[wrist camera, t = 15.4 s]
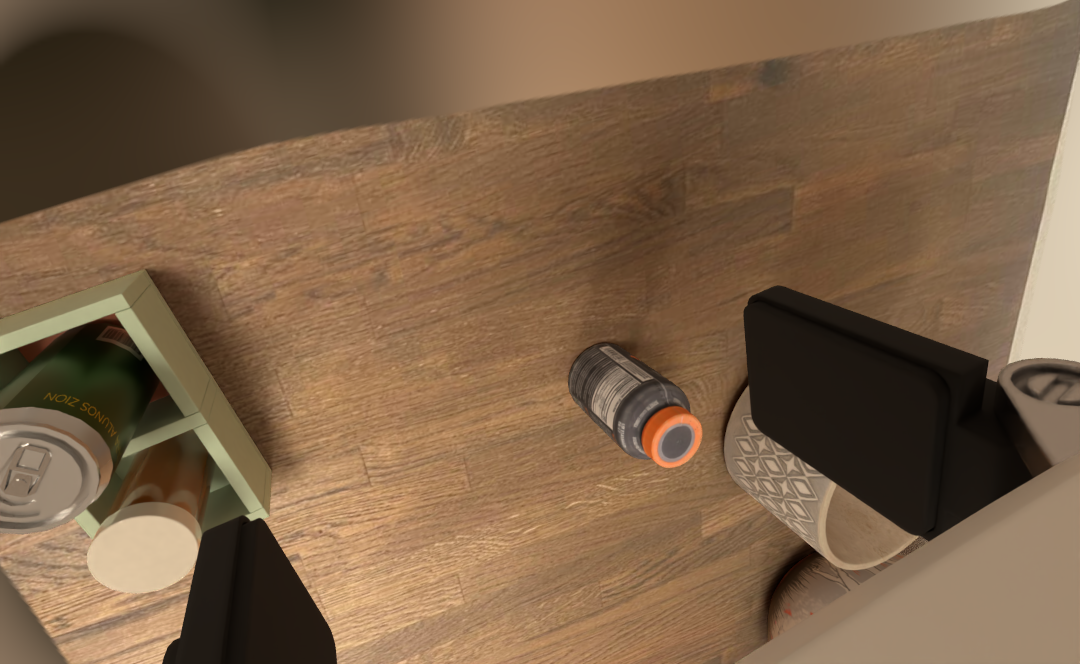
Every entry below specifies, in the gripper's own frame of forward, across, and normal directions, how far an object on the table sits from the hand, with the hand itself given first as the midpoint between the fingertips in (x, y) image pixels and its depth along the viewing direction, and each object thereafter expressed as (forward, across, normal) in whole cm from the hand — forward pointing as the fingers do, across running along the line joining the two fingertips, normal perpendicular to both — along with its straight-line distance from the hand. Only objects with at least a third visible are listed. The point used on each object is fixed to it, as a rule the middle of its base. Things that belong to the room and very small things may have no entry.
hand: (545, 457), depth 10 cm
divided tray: (+29, +16, +7) cm, 34 cm away
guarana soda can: (+29, +16, +4) cm, 33 cm away
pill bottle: (+29, -13, +18) cm, 37 cm away
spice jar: (+29, +16, +11) cm, 35 cm away
